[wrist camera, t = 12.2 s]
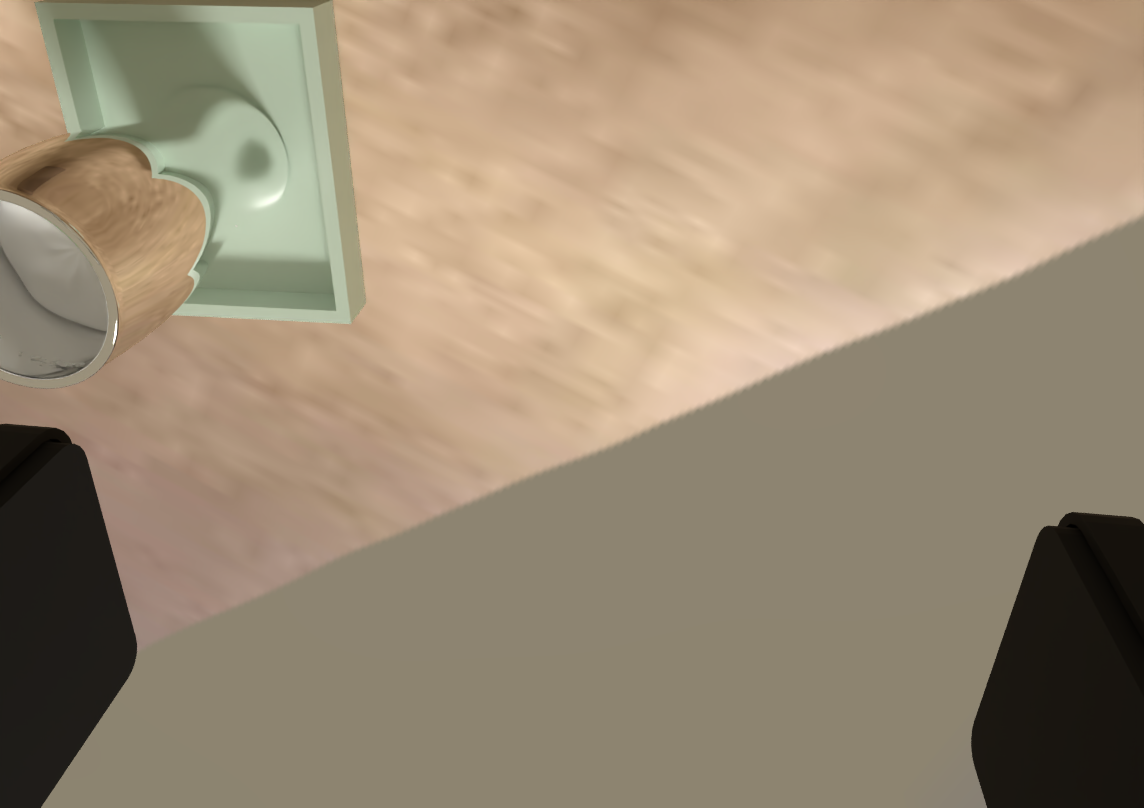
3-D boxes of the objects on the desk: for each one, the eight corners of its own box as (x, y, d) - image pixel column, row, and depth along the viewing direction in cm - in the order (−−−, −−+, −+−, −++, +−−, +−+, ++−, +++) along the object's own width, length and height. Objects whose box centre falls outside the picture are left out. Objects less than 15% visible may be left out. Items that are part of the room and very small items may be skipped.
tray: (67, -6, 40) (34, 2, 38) (332, -1, 39) (312, 7, 37) (137, 292, 46) (113, 312, 44) (366, 303, 45) (351, 324, 43)
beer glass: (124, 183, 43) (-121, 325, 30) (170, 41, 40) (-83, 133, 27) (267, 262, 44) (90, 432, 31) (324, 131, 41) (152, 260, 28)
